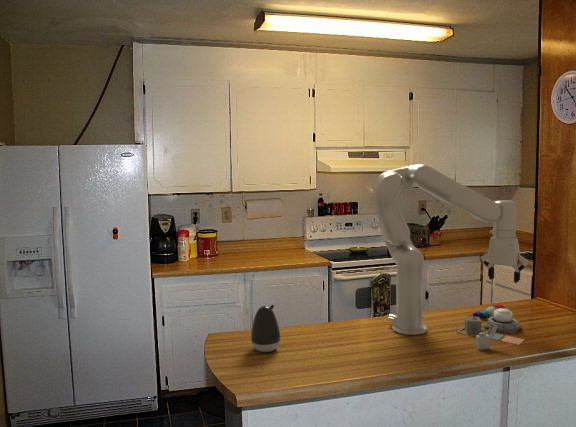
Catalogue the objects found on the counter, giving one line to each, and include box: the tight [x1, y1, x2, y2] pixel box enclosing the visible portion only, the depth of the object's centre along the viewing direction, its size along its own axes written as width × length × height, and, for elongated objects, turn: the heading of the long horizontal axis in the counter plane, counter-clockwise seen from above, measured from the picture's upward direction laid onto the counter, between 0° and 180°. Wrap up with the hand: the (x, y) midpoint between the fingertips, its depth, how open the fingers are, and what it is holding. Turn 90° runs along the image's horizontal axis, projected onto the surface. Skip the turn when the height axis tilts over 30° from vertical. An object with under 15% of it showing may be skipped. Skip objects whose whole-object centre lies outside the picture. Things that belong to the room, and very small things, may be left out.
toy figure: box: [468, 304, 507, 321], centre depth 195 cm, size 8×5×15 cm
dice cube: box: [464, 316, 482, 335], centre depth 179 cm, size 5×5×5 cm
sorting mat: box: [456, 326, 525, 346], centre depth 174 cm, size 21×8×1 cm, turn 47°
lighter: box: [475, 323, 498, 351], centre depth 163 cm, size 7×2×8 cm, turn 101°
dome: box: [494, 308, 513, 322], centre depth 181 cm, size 6×6×4 cm
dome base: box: [483, 316, 522, 335], centre depth 182 cm, size 10×10×3 cm
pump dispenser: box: [250, 304, 282, 353], centre depth 166 cm, size 10×10×15 cm
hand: (503, 280), depth 180 cm, fingers open, 8 cm apart
